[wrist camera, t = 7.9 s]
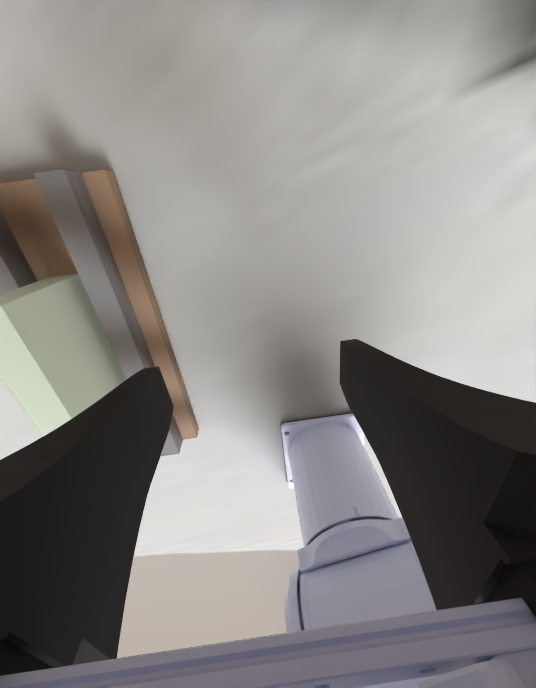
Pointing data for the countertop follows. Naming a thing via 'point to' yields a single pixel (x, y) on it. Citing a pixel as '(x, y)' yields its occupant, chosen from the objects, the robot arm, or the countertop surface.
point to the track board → (92, 269)
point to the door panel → (54, 351)
